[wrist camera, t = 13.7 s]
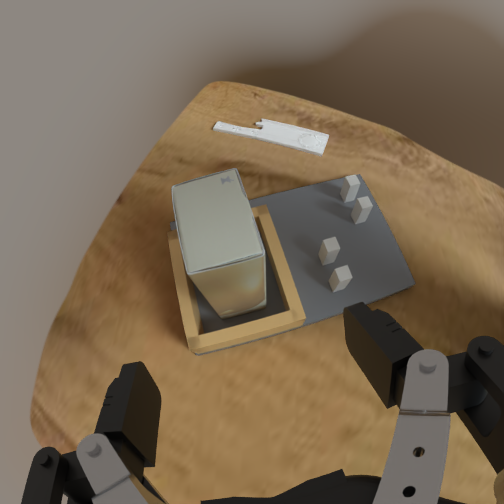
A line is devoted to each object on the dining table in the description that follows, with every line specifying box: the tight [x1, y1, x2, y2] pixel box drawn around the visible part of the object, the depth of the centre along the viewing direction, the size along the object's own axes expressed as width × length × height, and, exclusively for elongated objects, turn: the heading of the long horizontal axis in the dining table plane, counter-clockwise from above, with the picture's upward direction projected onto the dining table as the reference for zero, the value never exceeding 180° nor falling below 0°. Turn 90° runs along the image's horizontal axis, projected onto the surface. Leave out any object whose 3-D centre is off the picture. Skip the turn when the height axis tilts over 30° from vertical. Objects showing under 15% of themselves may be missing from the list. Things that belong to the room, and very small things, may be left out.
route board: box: [167, 174, 415, 356], centre depth 27 cm, size 22×14×4 cm, turn 106°
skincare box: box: [171, 168, 266, 319], centre depth 22 cm, size 6×4×12 cm
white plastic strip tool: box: [213, 119, 329, 157], centre depth 37 cm, size 5×15×1 cm, turn 67°
